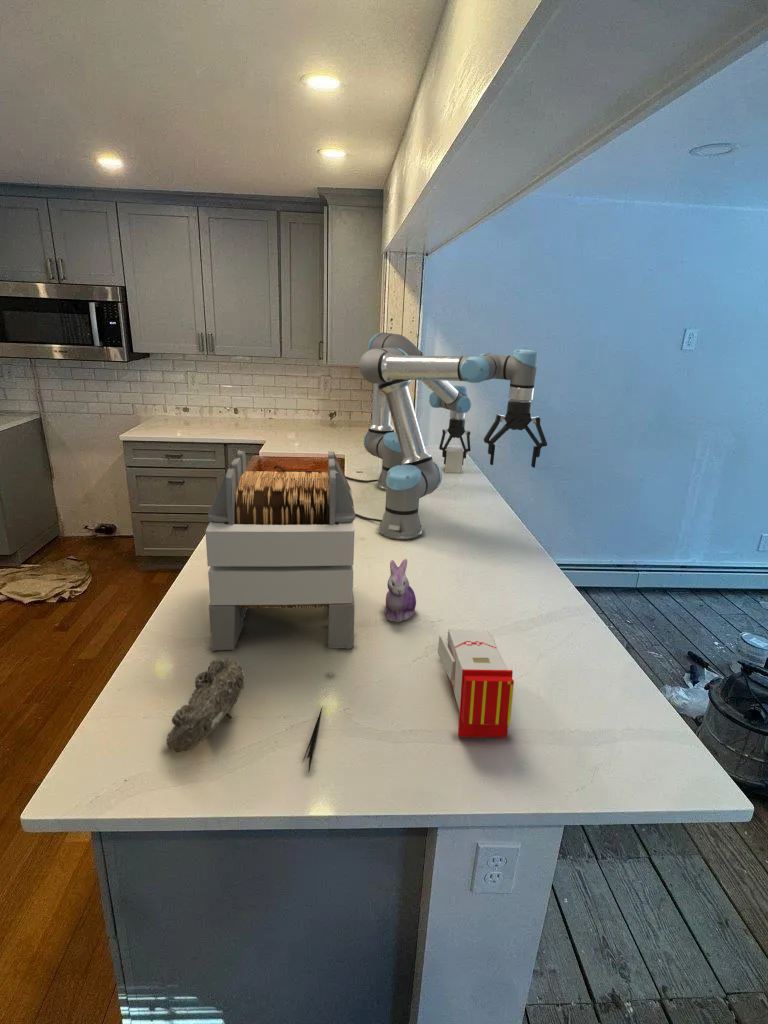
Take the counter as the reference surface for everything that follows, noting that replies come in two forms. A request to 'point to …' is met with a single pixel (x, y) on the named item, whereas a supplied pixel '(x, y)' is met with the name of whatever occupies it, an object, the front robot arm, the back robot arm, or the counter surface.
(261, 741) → the counter surface
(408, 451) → the front robot arm
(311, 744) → the feather
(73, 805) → the counter surface
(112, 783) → the counter surface
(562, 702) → the counter surface
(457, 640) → the toy
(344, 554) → the record crate
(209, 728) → the fossil
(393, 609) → the figurine
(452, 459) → the brick
